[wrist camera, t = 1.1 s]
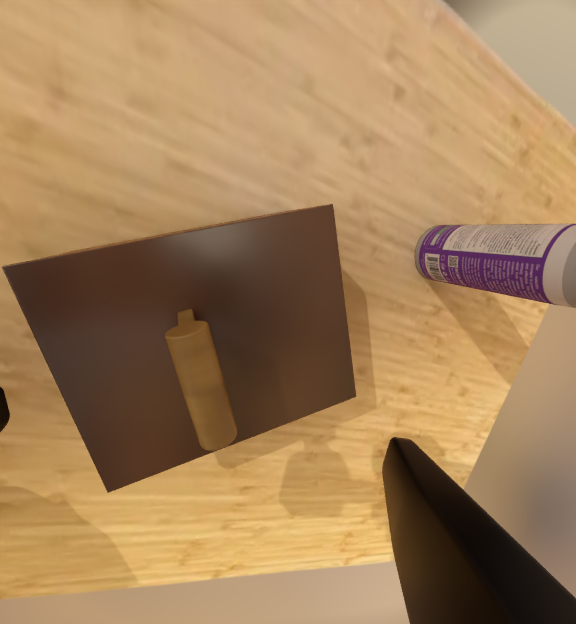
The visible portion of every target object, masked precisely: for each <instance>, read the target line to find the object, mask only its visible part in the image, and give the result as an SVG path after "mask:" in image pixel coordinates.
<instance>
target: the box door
mask: <svg viewBox="0 0 576 624" xmlns="http://www.w3.org/2000/svg"><path fill="white" fill-rule="evenodd" d="M2 268H3V271H4V273H5V275H6V277H7V279H8V281H9V283H10V285H11V288H12V290H13V292H14V294H15V296H16V298H17V300H18V302H19V305H20V307H21V309H22V311H23V313H24V315H25V317H26V319H27V322H28V324H29V326H30V328H31V330H32V332H33V334H34V337H35V339H36V341H37V343H38V345H39V347H40V349H41V351H42V354H43V356H44V358H45V360H46V362H47V364H48V366H49V368H50V371H51V373H52V375H53V377H54V379H55V381H56V383H57V385H58V388H59V390H60V392H61V394H62V396H63V398H64V400H65V402H66V405H67V407H68V409H69V411H70V413H71V415H72V417H73V420H74V422H75V424H76V426H77V428H78V430H79V432H80V434H81V437H82V439H83V441H84V443H85V445H86V447H87V449H88V451H89V454H90V456H91V458H92V460H93V462H94V464H95V466H96V468H97V471H98V473H99V475H100V477H101V479H102V481H103V483H104V485H105V488H106V490H107V492H111V491H114V490H116V489H119V488H122V487H124V486H127V485H129V484H132V483H134V482H137V481H140V480H142V479H145V478H147V477H150V476H153V475H155V474H158V473H160V472H163V471H165V470H168V469H171V468H173V467H176V466H178V465H181V464H184V463H186V462H189V461H191V460H194V459H196V458H199V457H202V456H204V455H207V454H209V453H212V452H215V451H217V450H220V449H222V448H225V447H227V446H230V445H233V444H235V443H238V442H240V441H243V440H246V439H248V438H251V437H253V436H256V435H258V434H261V433H264V432H266V431H269V430H271V429H274V428H277V427H279V426H282V425H284V424H287V423H289V422H292V421H295V420H297V419H300V418H302V417H305V416H308V415H310V414H313V413H315V412H318V411H320V410H323V409H326V408H328V407H331V406H333V405H336V404H339V403H341V402H344V401H346V400H349V399H351V398H354V397H356V391H355V383H354V374H353V366H352V358H351V349H350V341H349V333H348V325H347V316H346V308H345V300H344V292H343V283H342V275H341V267H340V259H339V250H338V242H337V234H336V226H335V217H334V209H333V204H330V205H324V206H318V207H313V208H308V209H302V210H297V211H292V212H286V213H281V214H276V215H271V216H265V217H260V218H255V219H249V220H244V221H239V222H233V223H228V224H223V225H217V226H212V227H207V228H201V229H196V230H191V231H186V232H180V233H175V234H170V235H164V236H159V237H154V238H148V239H143V240H138V241H132V242H127V243H122V244H117V245H111V246H106V247H101V248H95V249H90V250H85V251H79V252H74V253H69V254H63V255H58V256H53V257H48V258H42V259H37V260H32V261H26V262H21V263H16V264H11V265H6V266H3V267H2Z"/></svg>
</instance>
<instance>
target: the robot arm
mask: <svg viewBox="0 0 576 624" xmlns="http://www.w3.org/2000/svg"><path fill="white" fill-rule="evenodd" d="M9 418H10V413H9V409H8V405H7V401H6V397H5V393H4V390H3V389H2V388H1V387H0V432H1V431H2V430H3V429H4V427H5V426H6V425H7V423H8V421H9ZM382 473H383V482H384V489H385V497H386V504H387V512H388V519H389V526H390V534H391V541H392V547H393V552H394V557H395V562H396V566H397V570H398V575H399V579H400V583H401V587H402V592H403V596H404V600H405V604H406V609H407V613H408V617H409V621H410V624H576V598H575V597H574V596H573V595H572V594H571V593H570V592H569V591H568V590H566V588H564V586H562V585H561V584H560V583H559V582H558V581H557V580H556V579H555V578H554V577H553V576H552V575H551V574H550V573H549V572H548V571H547V570H546V569H545V568H544V567H543V566H542V565H541V564H540V563H539V562H538V561H537V560H536V559H534V558H533V557H532V556H531V555H530V554H529V553H528V552H527V551H526V550H525V549H524V548H523V547H522V546H521V545H520V544H519V543H518V542H517V541H516V540H515V539H514V538H513V537H511V536H510V534H509V533H507V532H506V531H505V530H504V529H503V528H502V527H501V526H500V525H499V524H498V523H497V522H496V521H495V520H494V519H493V518H492V517H491V516H490V515H489V514H488V513H487V512H486V511H485V510H484V509H483V508H481V507H480V506H479V505H478V504H477V503H476V502H475V501H474V500H473V499H472V498H471V497H470V496H469V495H468V494H467V493H466V492H465V491H464V490H463V489H462V488H461V487H460V486H459V485H458V484H457V483H456V482H455V481H454V480H452V479H451V478H450V477H449V476H448V475H447V474H446V473H445V472H444V471H443V470H442V469H441V468H440V467H439V466H438V465H437V464H436V463H435V462H434V461H433V460H432V459H431V458H430V457H429V456H428V455H427V454H425V453H424V452H423V451H422V450H421V449H420V448H419V447H418V446H417V445H416V444H415V443H414V442H413V441H412V440H410V439H406V438H398V437H394V438H392V439H391V440H390V442H389V445H388V449H387V452H386V456H385V459H384V462H383V469H382Z"/></svg>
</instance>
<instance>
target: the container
mask: <svg viewBox="0 0 576 624" xmlns="http://www.w3.org/2000/svg"><path fill="white" fill-rule="evenodd" d="M415 263H416V267H417V269H418V271H419V273H420V274H421V275H422V276H423V277H425V278H427V279H431V280H435V281H440V282H445V283H450V284H455V285H460V286H465V287H470V288H475V289H480V290H485V291H490V292H495V293H500V294H505V295H510V296H515V297H520V298H524V299H529V300H534V301H539V302H544V303H549V304H554V305H561V306H567V307H572V308H576V224H505V225H438V226H434V227H432V228H430V229H428V230H427V231H426V232H425V233H424V234H423V235H422V237H421V238H420V240H419V242H418V244H417V247H416V251H415Z"/></svg>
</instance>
